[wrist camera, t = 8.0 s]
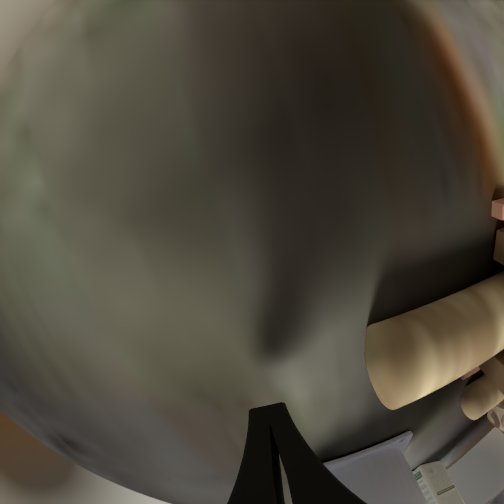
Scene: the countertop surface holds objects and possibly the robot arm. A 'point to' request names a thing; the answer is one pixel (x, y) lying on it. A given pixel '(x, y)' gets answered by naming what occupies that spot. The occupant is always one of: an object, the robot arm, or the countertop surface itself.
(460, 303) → the dowel
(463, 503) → the syrup box
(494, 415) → the figurine
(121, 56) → the countertop surface
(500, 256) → the block
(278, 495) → the robot arm
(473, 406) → the short dowel
